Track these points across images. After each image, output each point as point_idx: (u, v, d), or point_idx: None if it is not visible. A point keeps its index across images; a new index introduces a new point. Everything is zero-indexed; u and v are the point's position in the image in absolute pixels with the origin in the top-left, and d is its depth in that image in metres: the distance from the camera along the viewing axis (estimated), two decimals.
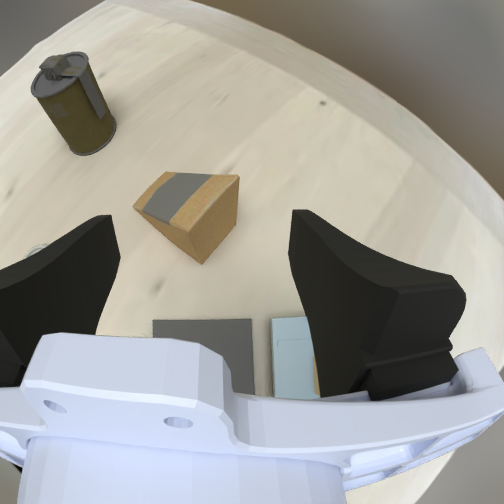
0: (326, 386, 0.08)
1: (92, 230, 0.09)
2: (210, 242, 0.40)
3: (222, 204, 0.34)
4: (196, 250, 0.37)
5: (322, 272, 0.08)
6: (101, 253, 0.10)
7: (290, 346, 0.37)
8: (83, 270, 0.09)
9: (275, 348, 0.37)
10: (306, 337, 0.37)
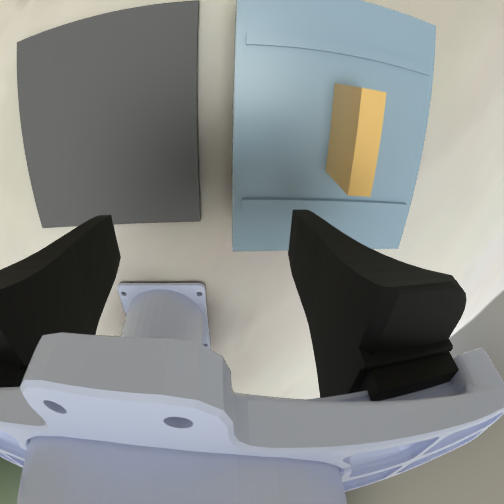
0: (326, 386, 0.08)
1: (92, 230, 0.09)
2: None
3: None
4: None
5: (322, 272, 0.08)
6: (101, 253, 0.10)
7: (279, 50, 0.12)
8: (83, 270, 0.09)
9: (240, 50, 0.12)
10: (322, 37, 0.12)
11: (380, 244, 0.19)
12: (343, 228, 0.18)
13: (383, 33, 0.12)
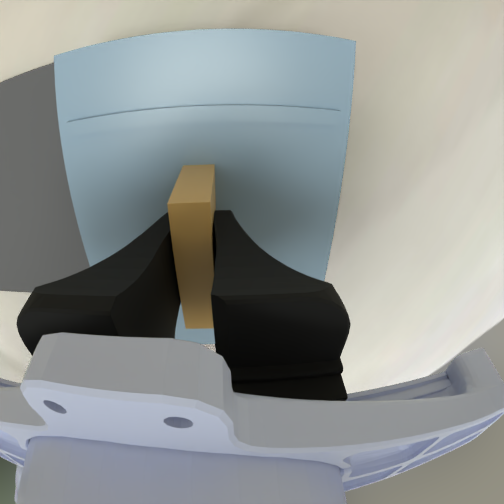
0: None
1: None
2: None
3: None
4: None
5: None
6: None
7: (107, 134, 0.10)
8: (168, 269, 0.09)
9: (66, 144, 0.10)
10: (158, 103, 0.10)
11: None
12: None
13: (256, 73, 0.09)
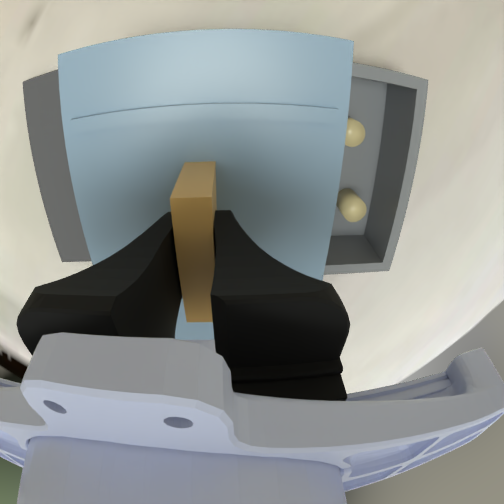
0: None
1: None
2: None
3: None
4: None
5: None
6: None
7: (110, 132, 0.10)
8: (168, 269, 0.09)
9: (70, 141, 0.10)
10: (161, 101, 0.10)
11: None
12: None
13: (256, 72, 0.10)
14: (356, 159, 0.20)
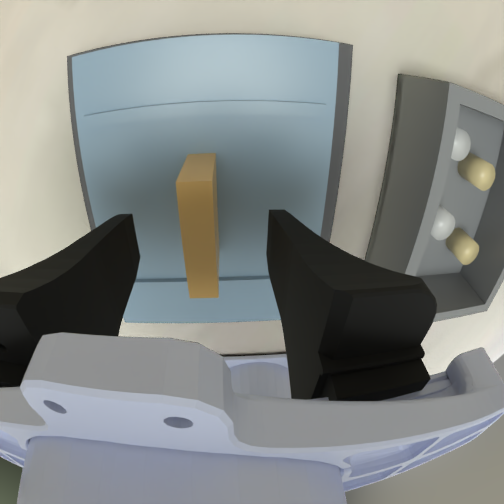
0: (295, 390, 0.08)
1: (115, 229, 0.09)
2: None
3: None
4: None
5: (291, 273, 0.08)
6: (123, 253, 0.10)
7: (120, 127, 0.11)
8: (107, 270, 0.09)
9: (83, 135, 0.11)
10: (166, 99, 0.11)
11: None
12: (231, 303, 0.17)
13: (251, 73, 0.11)
14: (471, 198, 0.17)
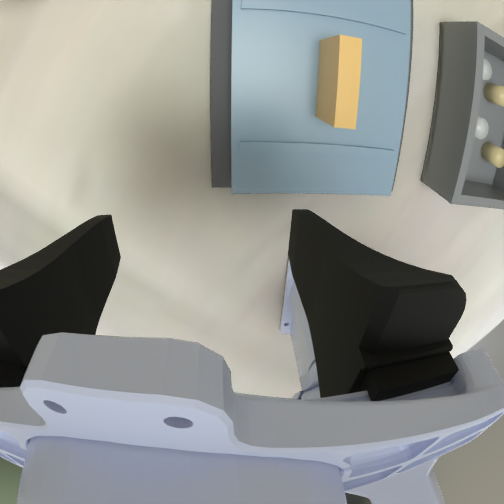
0: (326, 386, 0.08)
1: (92, 230, 0.09)
2: None
3: None
4: None
5: (322, 272, 0.08)
6: (101, 253, 0.10)
7: (270, 13, 0.13)
8: (83, 270, 0.09)
9: (236, 14, 0.13)
10: (307, 2, 0.13)
11: (372, 190, 0.20)
12: (335, 172, 0.19)
13: None
14: (495, 119, 0.18)
